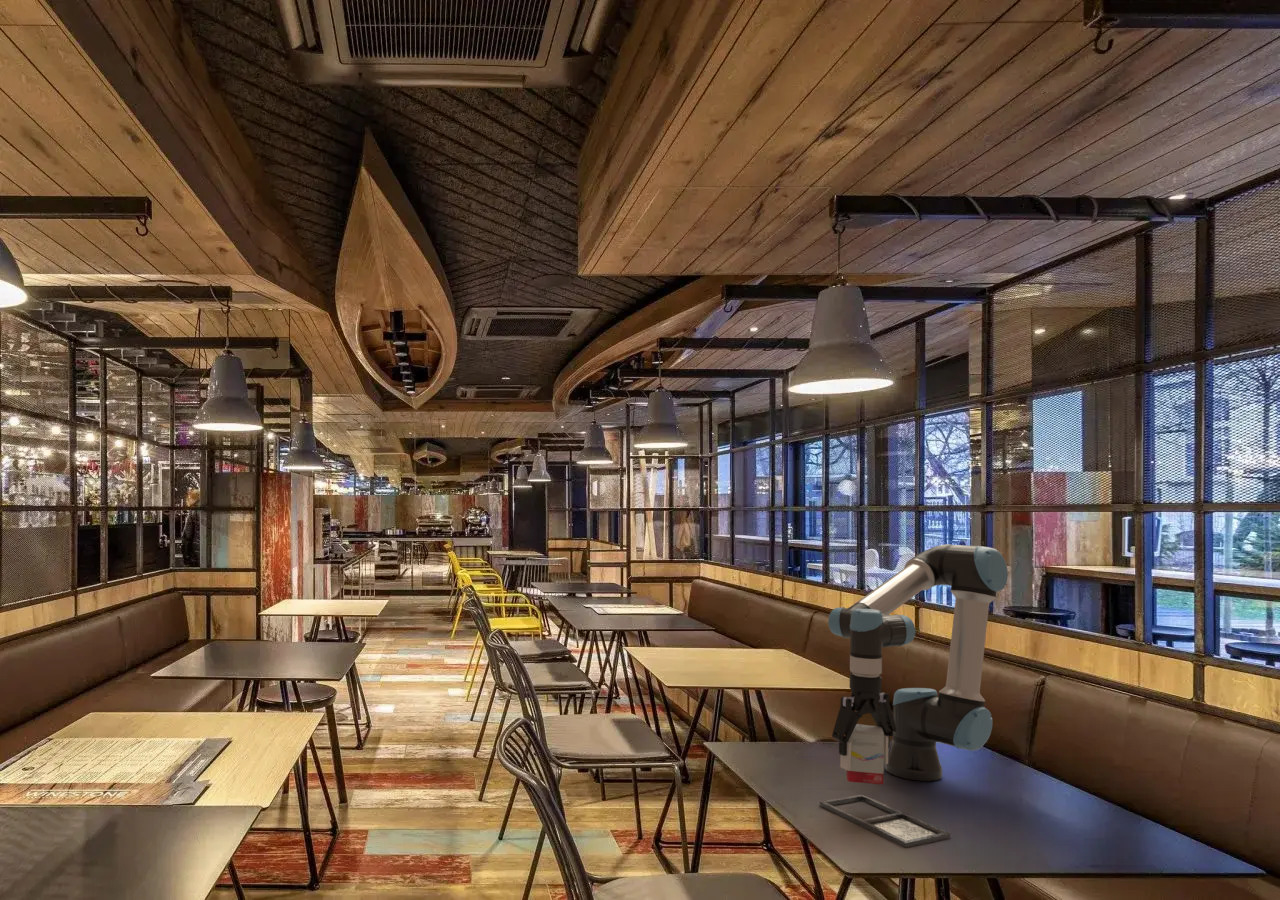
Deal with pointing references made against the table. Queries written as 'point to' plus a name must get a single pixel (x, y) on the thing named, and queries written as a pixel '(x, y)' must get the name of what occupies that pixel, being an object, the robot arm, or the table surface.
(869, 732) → the ink box
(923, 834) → the grey flat rectangular frame
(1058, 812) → the table surface
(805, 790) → the table surface
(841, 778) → the table surface
